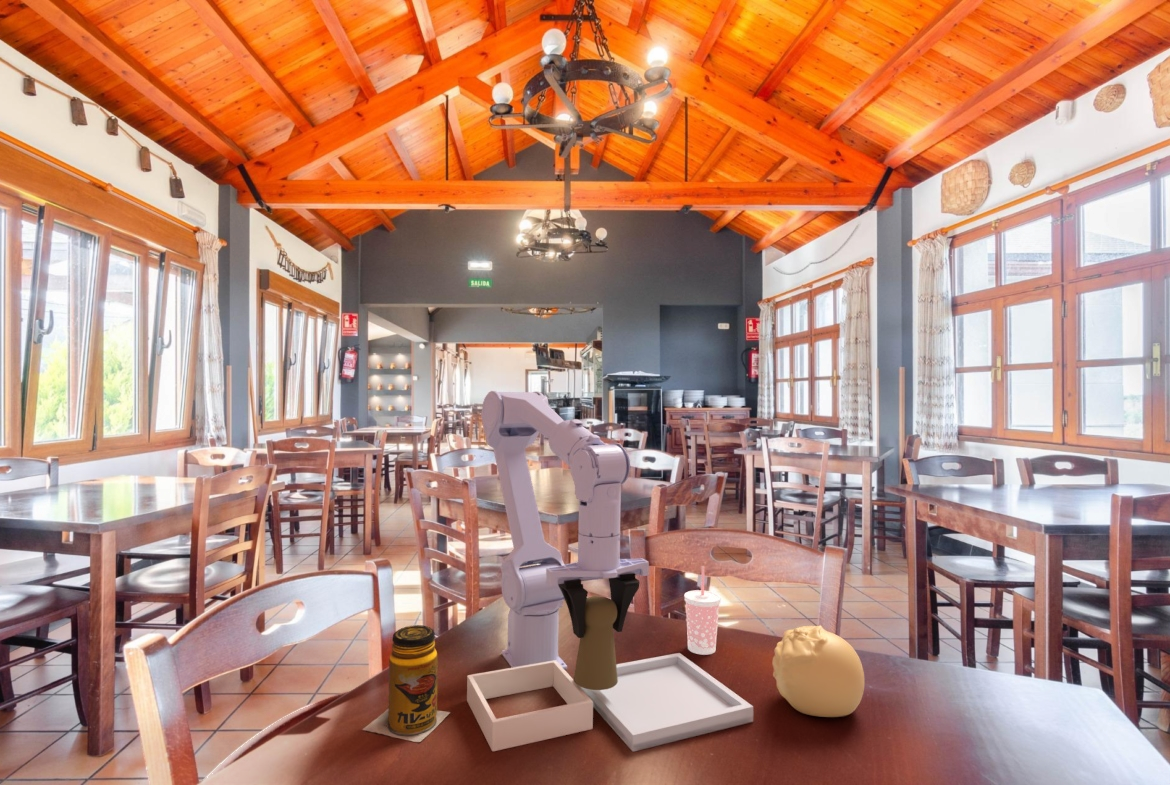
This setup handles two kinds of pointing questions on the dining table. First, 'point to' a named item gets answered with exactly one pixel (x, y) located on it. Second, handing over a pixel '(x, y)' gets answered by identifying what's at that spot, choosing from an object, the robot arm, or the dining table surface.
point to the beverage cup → (702, 619)
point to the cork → (597, 646)
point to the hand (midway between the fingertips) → (597, 632)
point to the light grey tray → (667, 702)
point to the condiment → (411, 687)
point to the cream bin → (532, 723)
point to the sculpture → (818, 672)
